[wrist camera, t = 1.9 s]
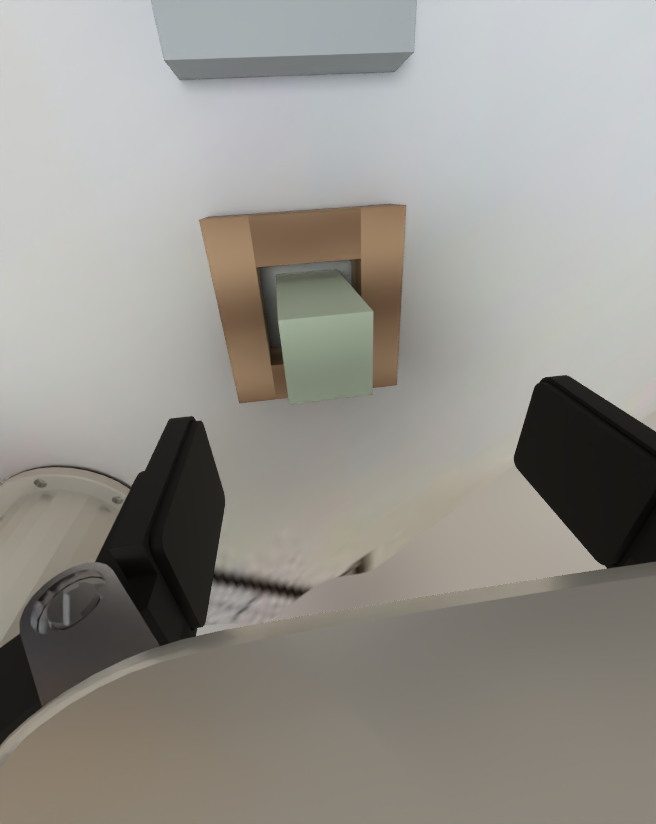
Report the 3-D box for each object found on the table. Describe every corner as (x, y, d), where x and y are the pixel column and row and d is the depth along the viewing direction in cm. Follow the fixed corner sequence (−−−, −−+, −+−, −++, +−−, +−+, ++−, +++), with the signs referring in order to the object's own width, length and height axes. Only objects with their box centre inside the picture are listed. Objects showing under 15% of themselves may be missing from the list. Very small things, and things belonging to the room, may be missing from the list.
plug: (338, 328, 25) (372, 394, 17) (283, 333, 25) (289, 404, 17) (336, 269, 23) (373, 311, 15) (275, 274, 23) (277, 320, 14)
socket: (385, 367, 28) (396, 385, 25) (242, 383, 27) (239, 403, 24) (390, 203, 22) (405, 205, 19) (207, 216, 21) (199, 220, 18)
